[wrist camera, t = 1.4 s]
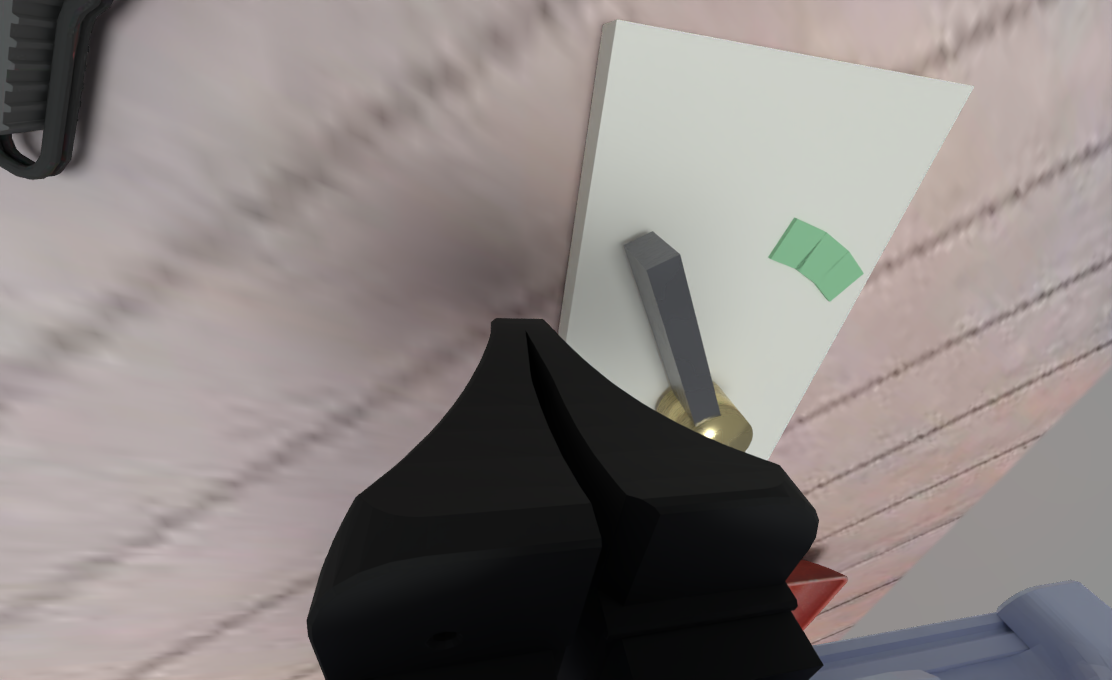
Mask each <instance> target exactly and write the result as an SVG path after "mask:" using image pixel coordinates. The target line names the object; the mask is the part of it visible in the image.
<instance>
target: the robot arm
mask: <svg viewBox="0 0 1112 680" xmlns="http://www.w3.org/2000/svg"><path fill="white" fill-rule="evenodd" d="M818 523H819V519H818V516H817V513H816V510H815V509H814V507H813V506H812V505H811V504H810V502H809V501H808V500H807V499H806V497H805V496H804V495H803V494H802V492H801V491H800V490H799V489H798V487H797V486H796V485H795V484H794V482H793V481H792V480H791V479H790V477H789V476H788V475H787V474H786V472H785V471H784V470H783V469H782V468H781V466H780V465H778V464H775V463H772V462H770V461H767V460H764V459H762V458H759V457H756V456H754V455H751V454H748V453H745V452H743V451H740V450H737V449H735V448H732V447H729V446H727V445H724V444H722V443H720V442H717V441H715V440H713V439H711V438H709V437H706V436H704V435H702V434H700V433H697V432H695V431H693V430H691V429H689V428H687V427H685V426H683V425H681V424H679V423H677V422H675V421H673V420H671V419H670V418H668V417H666V416H664V415H662V414H661V413H659V412H657V411H655V410H653V409H652V408H650V407H648V406H647V405H645V404H643V403H642V402H640V401H638V400H637V399H635V398H634V397H632V396H631V395H629V394H628V393H627V392H625V391H624V390H622V389H621V388H619V387H618V386H616V385H615V384H614V383H612V382H611V381H610V380H608V379H607V378H606V377H605V376H603V375H602V374H601V373H600V372H598V371H597V370H596V369H595V368H593V367H592V366H591V365H590V364H589V363H588V362H587V361H585V360H584V359H583V358H582V357H581V356H580V355H579V354H578V353H577V352H576V351H575V350H573V349H572V348H571V347H570V346H569V345H568V344H567V343H566V342H565V341H564V340H563V339H562V338H561V337H560V336H559V335H558V334H557V333H556V332H555V331H554V330H553V329H552V328H551V327H550V325H549V324H548V323H547V322H546V321H544V320H543V319H510V318H496V319H494V320H493V321H492V322H491V334H490V338H489V341H488V344H487V347H486V349H485V351H484V354H483V356H482V359H481V361H480V363H479V365H478V367H477V368H476V370H475V372H474V374H473V376H472V378H471V379H470V381H469V383H468V384H467V386H466V387H465V389H464V391H463V392H462V394H461V395H460V396H459V398H458V399H457V401H456V402H455V403H454V405H453V406H452V407H451V409H450V410H449V411H448V412H447V413H446V415H445V416H444V417H443V418H442V420H441V421H440V422H439V423H438V424H437V425H436V427H435V428H434V429H433V430H432V431H431V432H430V433H429V434H428V435H427V436H426V437H425V438H424V439H423V440H422V441H421V442H420V443H419V444H418V445H417V446H416V447H415V448H414V449H413V450H412V451H411V452H410V453H409V454H408V455H407V456H406V457H404V458H403V459H402V460H401V461H400V462H399V463H398V464H397V465H396V466H394V467H393V468H392V469H391V470H389V471H388V472H387V473H386V474H384V475H383V476H382V477H381V478H379V479H378V480H377V481H376V482H374V483H373V484H372V485H371V486H369V487H368V488H367V489H366V490H364V491H363V492H362V493H361V494H359V495H358V496H357V497H356V498H355V499H354V501H353V503H352V505H351V507H350V508H349V510H348V512H347V514H346V516H345V518H344V520H343V522H342V523H341V526H340V528H339V530H338V532H337V534H336V536H335V538H334V540H333V542H332V545H331V547H330V550H329V552H328V554H327V557H326V559H325V561H324V564H323V567H322V570H321V572H320V576H319V579H318V583H317V586H316V590H315V593H314V597H313V600H312V604H311V607H310V610H309V614H308V617H307V630H308V637H309V639H310V642H311V644H312V647H313V649H314V652H315V655H316V657H317V660H318V662H319V665H320V667H321V670H322V672H323V675H324V677H325V680H1112V609H1111V608H1110V607H1109V606H1108V605H1106V604H1105V603H1104V602H1103V601H1102V600H1100V599H1099V598H1098V597H1097V596H1096V595H1095V594H1093V593H1092V592H1091V591H1090V590H1089V589H1087V588H1086V587H1085V586H1084V585H1082V584H1081V583H1080V582H1078V581H1073V580H1068V581H1062V582H1056V583H1051V584H1044V585H1039V586H1034V587H1030V588H1027V589H1025V590H1023V591H1020V592H1018V593H1016V594H1015V595H1013V596H1012V597H1010V598H1009V599H1007V600H1006V601H1005V602H1003V603H1002V604H1001V605H1000V606H999V607H998V608H997V612H993V613H988V614H982V615H977V616H971V617H966V618H960V619H955V620H950V621H944V622H939V623H933V624H928V625H922V626H917V627H911V628H906V629H901V630H895V631H890V632H884V633H879V634H874V635H868V636H863V637H857V638H851V639H846V640H841V641H835V642H830V643H824V644H819V645H813V646H812V645H811V643H810V641H809V640H808V638H807V636H806V635H805V633H804V631H803V630H802V628H801V627H800V625H799V623H798V622H797V620H796V618H795V617H794V615H793V613H792V612H791V611H794V610H795V609H796V608H797V607H798V603H797V599H796V597H795V596H794V594H793V593H792V591H791V590H790V588H789V586H788V585H787V583H786V582H785V581H786V579H787V578H788V577H789V575H790V574H791V573H792V571H793V570H794V569H795V567H796V566H797V565H798V563H799V562H800V561H801V559H802V558H803V557H804V555H805V554H806V553H807V551H808V550H809V549H810V547H811V545H812V543H813V542H814V540H815V538H816V534H817V529H818Z"/></svg>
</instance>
